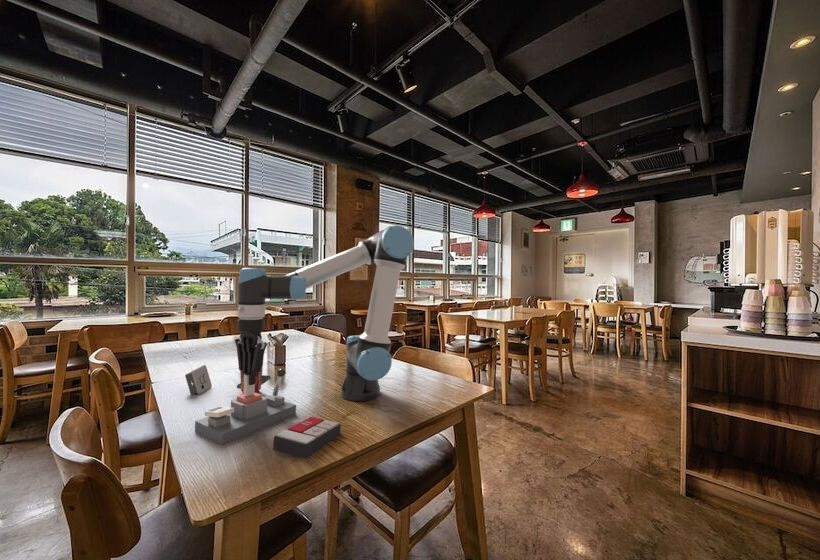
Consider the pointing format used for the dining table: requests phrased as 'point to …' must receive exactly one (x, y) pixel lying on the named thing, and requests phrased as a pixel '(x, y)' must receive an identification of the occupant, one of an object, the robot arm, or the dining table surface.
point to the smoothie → (257, 380)
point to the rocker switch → (219, 411)
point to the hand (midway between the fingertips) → (249, 394)
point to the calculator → (306, 437)
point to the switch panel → (245, 419)
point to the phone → (264, 378)
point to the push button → (249, 398)
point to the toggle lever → (278, 381)
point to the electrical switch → (198, 380)
